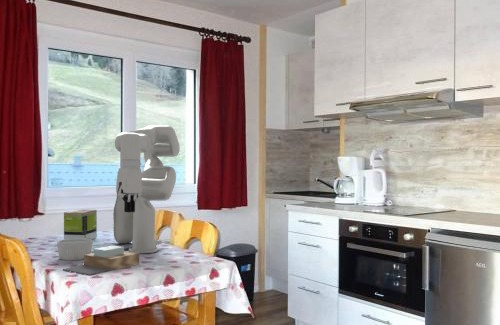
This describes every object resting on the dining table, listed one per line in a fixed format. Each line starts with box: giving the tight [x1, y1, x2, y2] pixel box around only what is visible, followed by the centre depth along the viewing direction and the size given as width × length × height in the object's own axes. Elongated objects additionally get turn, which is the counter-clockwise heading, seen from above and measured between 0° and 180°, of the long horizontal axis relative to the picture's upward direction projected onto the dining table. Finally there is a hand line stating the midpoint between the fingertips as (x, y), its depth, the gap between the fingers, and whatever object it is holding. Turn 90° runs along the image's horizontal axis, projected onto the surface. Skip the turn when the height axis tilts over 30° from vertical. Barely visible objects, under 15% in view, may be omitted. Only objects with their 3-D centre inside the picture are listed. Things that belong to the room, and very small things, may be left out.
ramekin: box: [56, 239, 94, 261], centre depth 181 cm, size 13×13×7 cm
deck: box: [83, 250, 140, 271], centre depth 169 cm, size 14×14×4 cm
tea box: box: [63, 209, 98, 240], centre depth 226 cm, size 15×10×15 cm
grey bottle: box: [112, 192, 133, 245], centre depth 218 cm, size 10×10×28 cm
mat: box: [62, 264, 112, 276], centre depth 159 cm, size 9×14×1 cm, turn 59°
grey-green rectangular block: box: [93, 245, 125, 257], centre depth 168 cm, size 9×6×2 cm, turn 149°
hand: (129, 211), depth 177 cm, fingers closed
